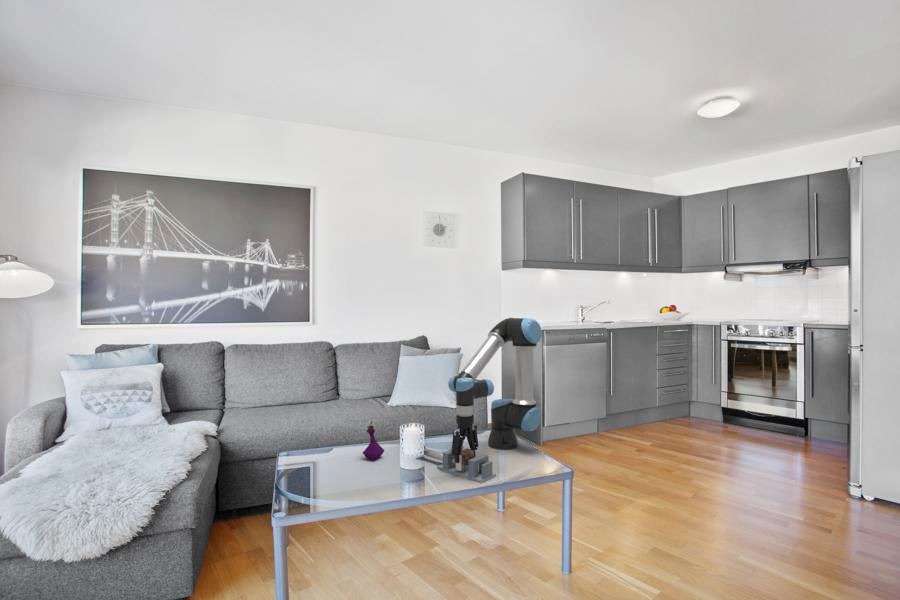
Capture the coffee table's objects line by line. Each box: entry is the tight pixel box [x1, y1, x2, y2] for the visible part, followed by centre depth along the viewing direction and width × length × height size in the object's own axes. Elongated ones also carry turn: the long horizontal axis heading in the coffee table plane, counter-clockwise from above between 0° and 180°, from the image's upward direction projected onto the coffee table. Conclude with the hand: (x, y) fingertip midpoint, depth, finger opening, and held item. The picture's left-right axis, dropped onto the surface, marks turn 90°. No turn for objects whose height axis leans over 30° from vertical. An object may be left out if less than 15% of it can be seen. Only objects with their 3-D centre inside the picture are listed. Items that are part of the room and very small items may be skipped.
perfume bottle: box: [362, 419, 385, 461], centre depth 220 cm, size 8×8×18 cm
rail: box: [436, 447, 497, 484], centre depth 202 cm, size 10×25×8 cm, turn 48°
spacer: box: [455, 448, 477, 472], centre depth 202 cm, size 8×5×7 cm, turn 138°
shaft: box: [423, 445, 455, 464], centre depth 213 cm, size 5×23×5 cm, turn 48°
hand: (465, 467), depth 202 cm, fingers closed on spacer, 8 cm apart
